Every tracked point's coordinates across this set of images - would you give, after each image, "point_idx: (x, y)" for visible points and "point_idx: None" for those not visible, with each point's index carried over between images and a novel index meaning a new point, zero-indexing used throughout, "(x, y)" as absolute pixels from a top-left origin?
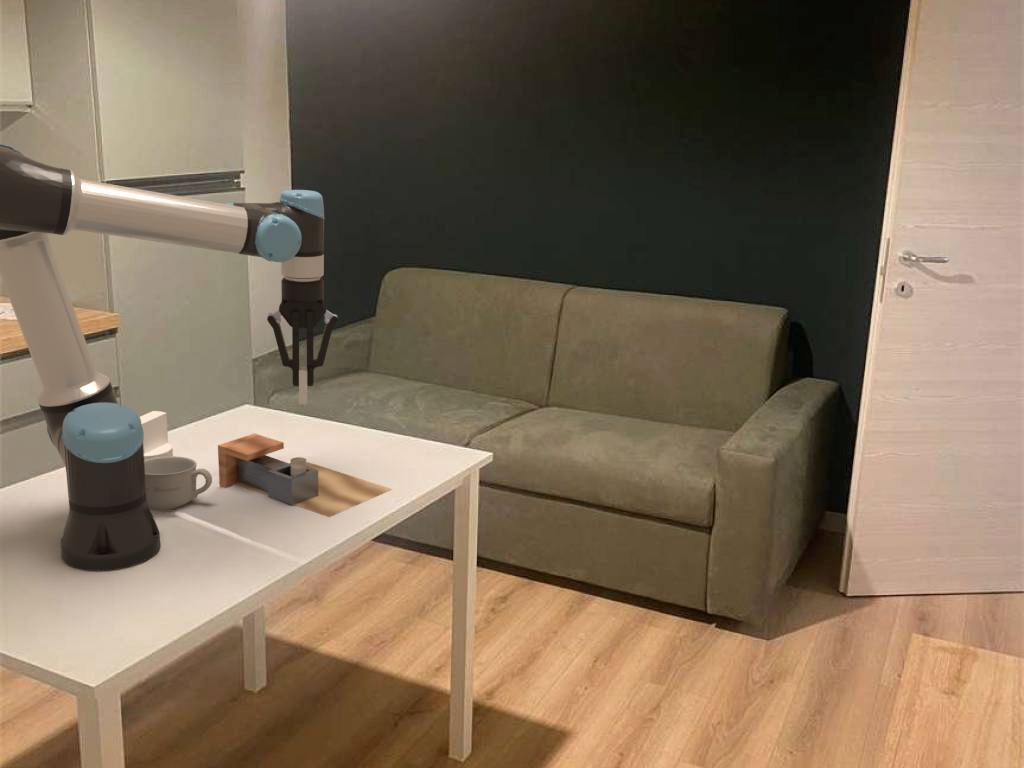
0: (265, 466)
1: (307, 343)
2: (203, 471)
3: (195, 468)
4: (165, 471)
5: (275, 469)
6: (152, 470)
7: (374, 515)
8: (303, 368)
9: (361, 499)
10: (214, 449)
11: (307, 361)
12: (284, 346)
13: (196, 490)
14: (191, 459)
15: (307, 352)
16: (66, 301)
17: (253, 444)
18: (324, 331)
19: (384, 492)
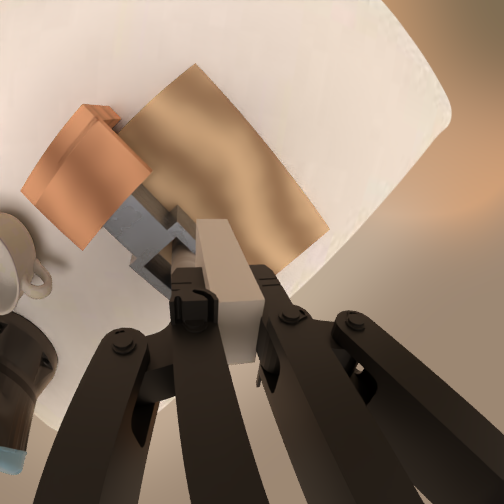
0: (121, 243)
1: (310, 495)
2: (36, 298)
3: (19, 271)
4: None
5: (142, 259)
6: None
7: (285, 291)
8: (238, 332)
9: (279, 263)
10: (54, 2)
11: (271, 398)
12: (137, 498)
13: (37, 274)
14: (2, 244)
15: (289, 445)
16: None
17: (84, 186)
18: (448, 495)
19: (315, 240)
